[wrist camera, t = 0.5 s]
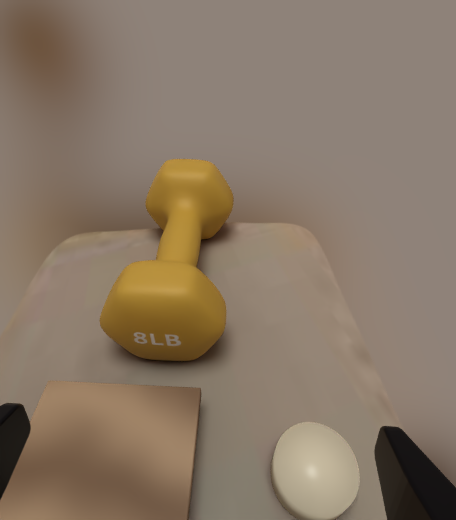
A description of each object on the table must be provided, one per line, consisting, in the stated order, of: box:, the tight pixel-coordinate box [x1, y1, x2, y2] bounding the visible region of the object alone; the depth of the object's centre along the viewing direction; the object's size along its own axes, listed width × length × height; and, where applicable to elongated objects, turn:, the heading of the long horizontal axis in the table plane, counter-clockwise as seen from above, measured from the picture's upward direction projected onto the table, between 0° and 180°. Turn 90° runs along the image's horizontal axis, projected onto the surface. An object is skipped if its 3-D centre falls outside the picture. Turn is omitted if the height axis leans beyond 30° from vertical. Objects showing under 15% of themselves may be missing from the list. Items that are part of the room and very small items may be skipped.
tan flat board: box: [0, 381, 201, 520], centre depth 19 cm, size 12×10×2 cm
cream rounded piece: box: [271, 422, 360, 520], centre depth 20 cm, size 5×5×2 cm
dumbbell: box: [100, 159, 233, 361], centre depth 30 cm, size 19×9×8 cm, turn 177°
